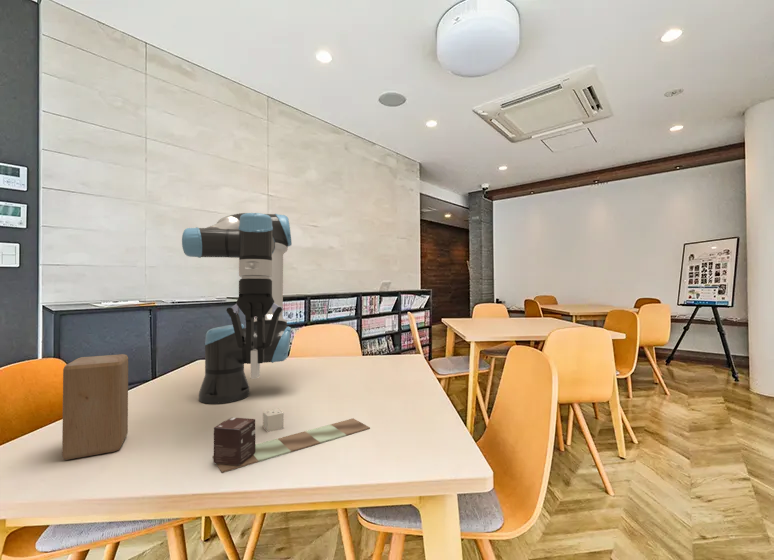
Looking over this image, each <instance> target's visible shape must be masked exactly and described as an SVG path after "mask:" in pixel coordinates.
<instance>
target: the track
mask: <svg viewBox="0 0 774 560" xmlns="http://www.w3.org/2000/svg"><path fill="white" fill-rule="evenodd" d="M370 429H371V427H370V426H368V425H366V424H365V423H364V422H363V423H362V422H361V421H359V420H357V419H356V418H354V417H353V418H349V419H346V420H342V421H341V420H340V421H337V422H335V423H331V424H327V425H324V426H319V427H315V428H312V429H308V430H304V431H300V432H297V433H293V434H290V435H286V436H281V437H279V438H274V439H271V440H267V441H263V442H260V443H255V449H256V452H255V453H254V454H253V455H252V456H251V457H250V458H248V459H247V460H246V461H245V462H243V463H242V464H241V465H229V464H218V463H215V464H216V465H217V468H218V470H219V471H220V473H221V474H223V473H227V472H230V471H232V470H236V469H240V468H243V467H246V466H250V465H252V464H256V463H260V462H263V461H267V460H270V459H273V458H276V457H280V456H282V455H286V454H287V455H288V454H289V453H294V452H296V451H300V450H303V449H307V448H310V447H313V446H317V445H320V444H324V443H327V442H330V441H333V440H337V439H340V438H343V437H346V436H350V435H354V434H356V433H360V432H364V431H366V430H370ZM212 459H213V460H214V455H212Z"/></svg>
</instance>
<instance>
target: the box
mask: <svg viewBox="0 0 774 560" xmlns="http://www.w3.org/2000/svg"><path fill="white" fill-rule="evenodd" d="M255 444H256V418H244V417H230V418H228V419H227V420H224V421H222V422H220V423H219V424H217V425H216V426H214V427H213V456H214V459H213V463H214V464H216V463H218V464H229V465H241V464H242V463H243V462H245V461H246V460H247V459H248V458H250V457H251V456H252V455H253V454H254V453H255V452H256V449H255Z"/></svg>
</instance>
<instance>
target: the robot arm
mask: <svg viewBox="0 0 774 560" xmlns="http://www.w3.org/2000/svg"><path fill="white" fill-rule="evenodd" d="M181 246H182V251H183V253H184V255H186V257H188V258H189V257H190V258H200V259H201V258H233V259H237V258H238V276H239V277H240V278H241V279H239V280H238V298H237V300H236V303H235V304H234V305H232V306H231V307H227V308H226V313H227V314H228V316H229V317H230V320H231V323H232V324H228V325H223V326H218V327H213V328H210V329H208V330H207V332H206V333H205V342H204V355H205V357H204V366H205V367H204V370H205V371H204V378H203V380H202V383H201V386H200V388H199V389H200V390H199V392H198V401H199V402H200V403H203V404H211V405H212V404H213V405H216V404H218V405H219V404H226V403H233V402H237V401H241V400H244V399H245V398H247V397H248V396H249V395H250V385H249V382H248V379H247V376H246V373H245V365H250V379H251V380H252V379H253V380H255V379H256V380H257V379H258V378H260V376H261V374H260V373H261V364H263V363H264V364H265V363H267V364H268V363H272V364H273V363H276V362H277V363H279V362H284V361H285V360H287V358H288V355H289V349H290V344H291V343H290V342H291V335H292V334H291V333H292V327H290V326H288V322H287V320H286V319H285V318H284V316H283V313H284V312H283V311H284V307H283V306H284V305H283V304H284V299H283V297H284V295H283V293H284V255H285V253H287V252H288V250H289V249H288V247H291V246H292V235H291V227H290V220H289V217H288V215H285V214H278V213H261V212H260V213H259V212H242V213H240V212H239V213H235V214H231V215H227V216H224V217H222V218H221V217H220V219H218V221H216V223H215V224H212V225H210V226H207V227H187V228H185V229H184V230H183V232H182V236H181ZM240 311H241V312H242V314H243V315H244V316H245V319H244V320H245V325H244V324H243V323H242V322H241V318H240V315H239V313H240Z"/></svg>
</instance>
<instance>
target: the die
mask: <svg viewBox="0 0 774 560" xmlns="http://www.w3.org/2000/svg"><path fill="white" fill-rule="evenodd" d="M284 414H285V413H284V412H283V411H282V410H281V409H279V408H274V409H269V410H264V411H262V428H263V429H264V430H265V431H266V432H267V433H270V432H274V431H278V430H283V429H285V427H284V422H285V421H284V420H285V419H284Z"/></svg>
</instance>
